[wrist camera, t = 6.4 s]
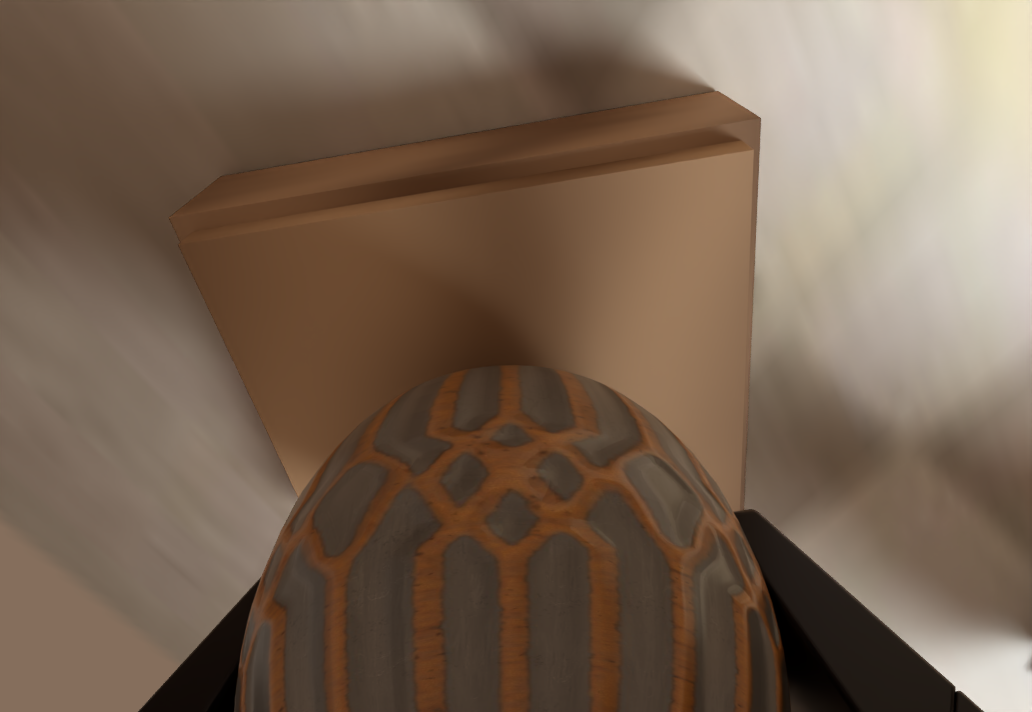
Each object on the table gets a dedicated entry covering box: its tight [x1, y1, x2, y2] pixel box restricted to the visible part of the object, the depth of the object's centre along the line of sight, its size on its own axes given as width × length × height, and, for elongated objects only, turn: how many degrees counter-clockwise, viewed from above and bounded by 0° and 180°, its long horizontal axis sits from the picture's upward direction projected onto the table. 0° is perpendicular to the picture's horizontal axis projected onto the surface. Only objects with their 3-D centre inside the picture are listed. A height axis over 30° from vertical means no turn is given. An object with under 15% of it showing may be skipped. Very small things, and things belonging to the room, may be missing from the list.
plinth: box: [169, 91, 761, 511], centre depth 14 cm, size 10×10×3 cm
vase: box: [234, 365, 791, 712], centre depth 8 cm, size 7×7×9 cm
